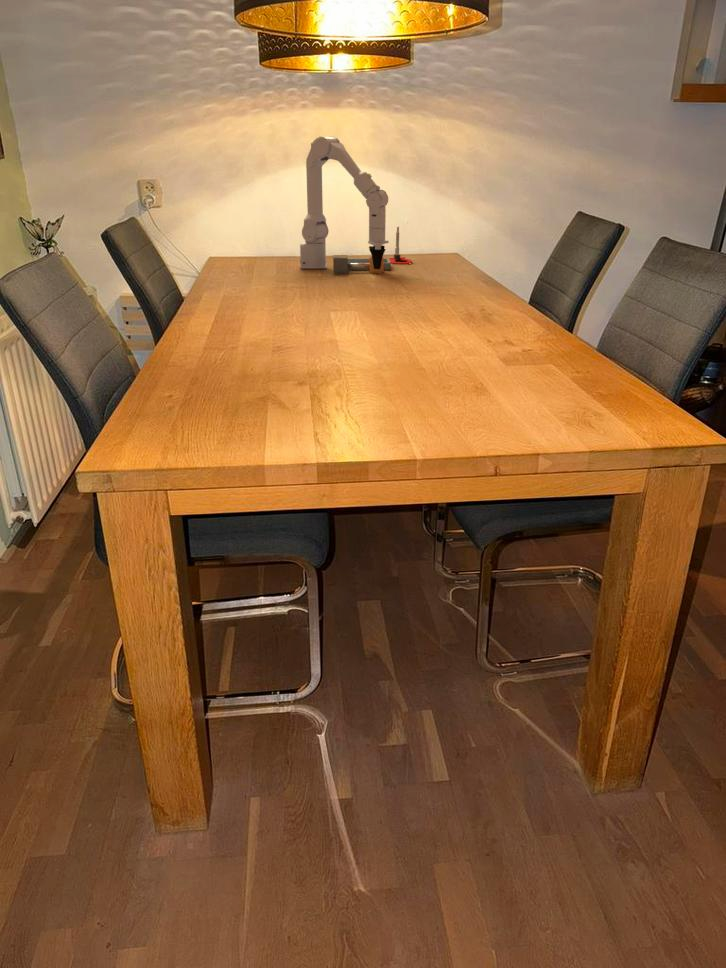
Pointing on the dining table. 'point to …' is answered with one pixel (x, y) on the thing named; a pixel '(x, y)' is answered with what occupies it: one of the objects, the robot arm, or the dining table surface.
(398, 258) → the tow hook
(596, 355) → the dining table surface
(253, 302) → the dining table surface
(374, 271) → the hitch pin
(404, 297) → the dining table surface
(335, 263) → the block
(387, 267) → the tray
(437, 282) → the dining table surface
